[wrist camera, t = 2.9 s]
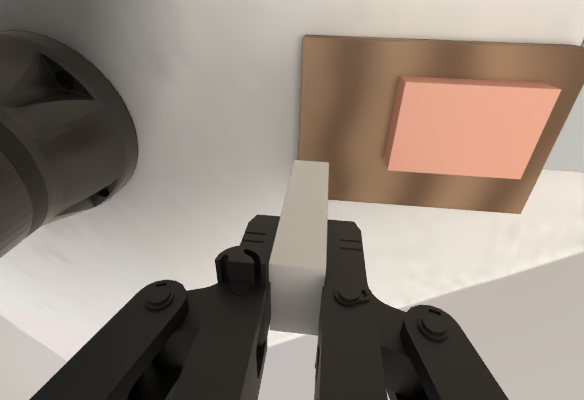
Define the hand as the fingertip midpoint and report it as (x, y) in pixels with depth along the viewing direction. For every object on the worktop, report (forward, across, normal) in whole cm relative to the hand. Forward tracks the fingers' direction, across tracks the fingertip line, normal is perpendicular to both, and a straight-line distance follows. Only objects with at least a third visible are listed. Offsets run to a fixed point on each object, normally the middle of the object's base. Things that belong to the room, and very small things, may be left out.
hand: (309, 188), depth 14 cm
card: (+11, +10, 0) cm, 14 cm away
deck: (+13, +8, -1) cm, 15 cm away
